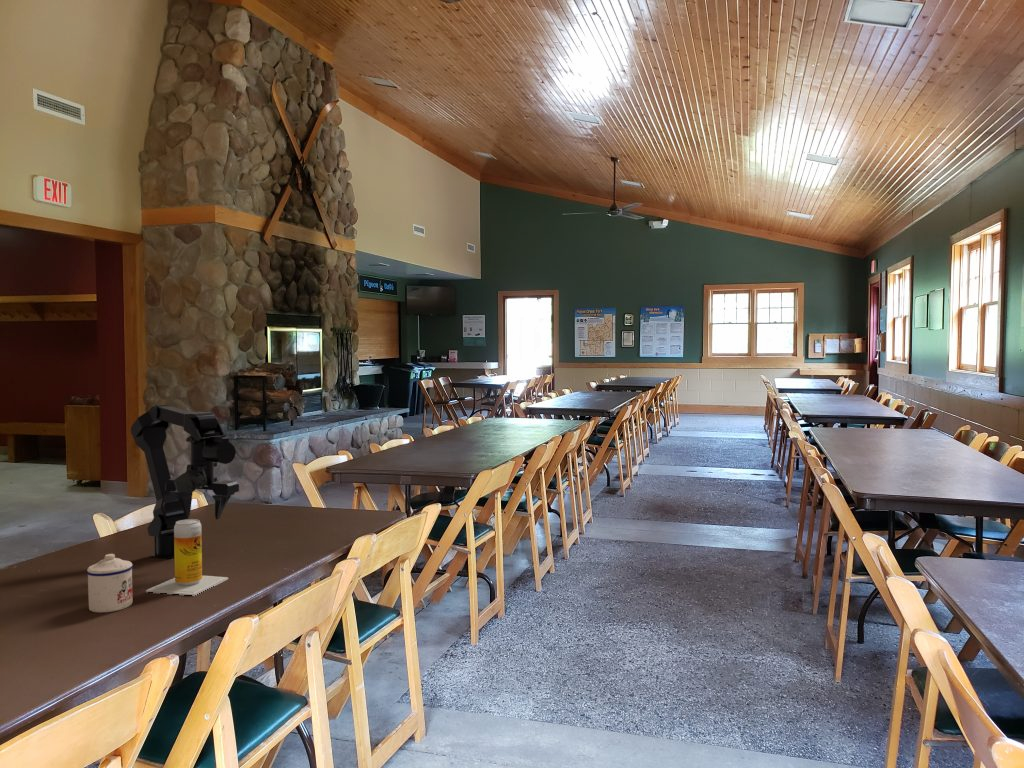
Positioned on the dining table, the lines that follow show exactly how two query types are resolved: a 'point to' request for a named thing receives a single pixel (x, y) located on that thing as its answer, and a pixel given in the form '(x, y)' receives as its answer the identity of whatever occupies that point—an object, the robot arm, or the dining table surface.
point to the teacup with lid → (110, 584)
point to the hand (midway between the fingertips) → (202, 517)
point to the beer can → (188, 552)
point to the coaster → (193, 590)
